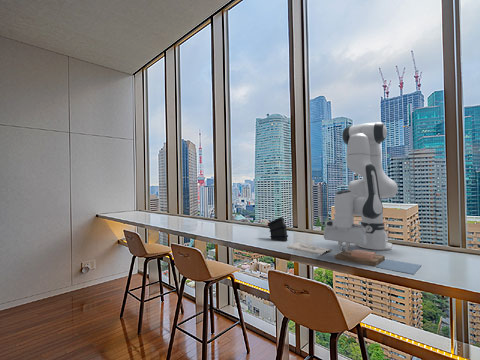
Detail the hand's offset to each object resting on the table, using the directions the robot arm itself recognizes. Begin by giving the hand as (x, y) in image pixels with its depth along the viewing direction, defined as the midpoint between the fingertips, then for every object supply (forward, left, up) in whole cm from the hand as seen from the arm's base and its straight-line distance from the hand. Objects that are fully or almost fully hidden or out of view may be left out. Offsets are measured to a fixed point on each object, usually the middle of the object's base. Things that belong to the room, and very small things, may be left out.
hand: (344, 251), depth 133 cm
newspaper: (-3, -21, -4) cm, 22 cm away
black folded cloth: (-12, -49, -3) cm, 51 cm away
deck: (-1, +7, -3) cm, 8 cm away
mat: (-1, +24, -3) cm, 24 cm away
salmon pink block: (0, +9, -1) cm, 9 cm away
